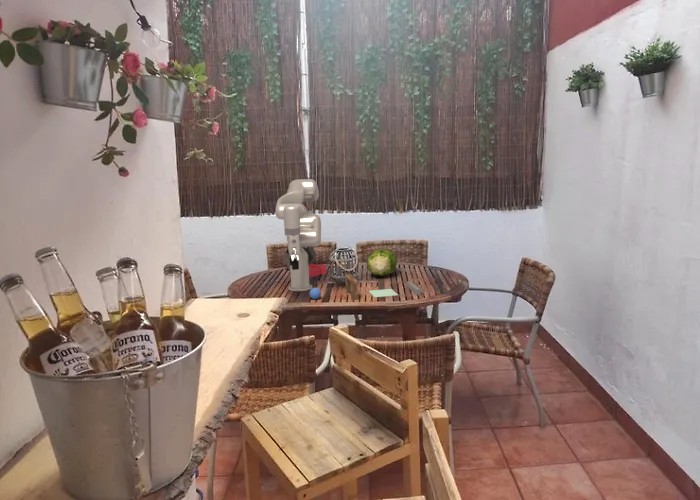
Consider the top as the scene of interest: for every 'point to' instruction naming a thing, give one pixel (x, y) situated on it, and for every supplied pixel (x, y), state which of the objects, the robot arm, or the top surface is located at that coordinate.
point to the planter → (309, 251)
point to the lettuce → (382, 262)
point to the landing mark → (383, 293)
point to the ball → (315, 293)
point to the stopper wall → (414, 288)
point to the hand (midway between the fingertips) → (294, 267)
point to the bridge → (351, 286)
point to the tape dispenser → (316, 270)
